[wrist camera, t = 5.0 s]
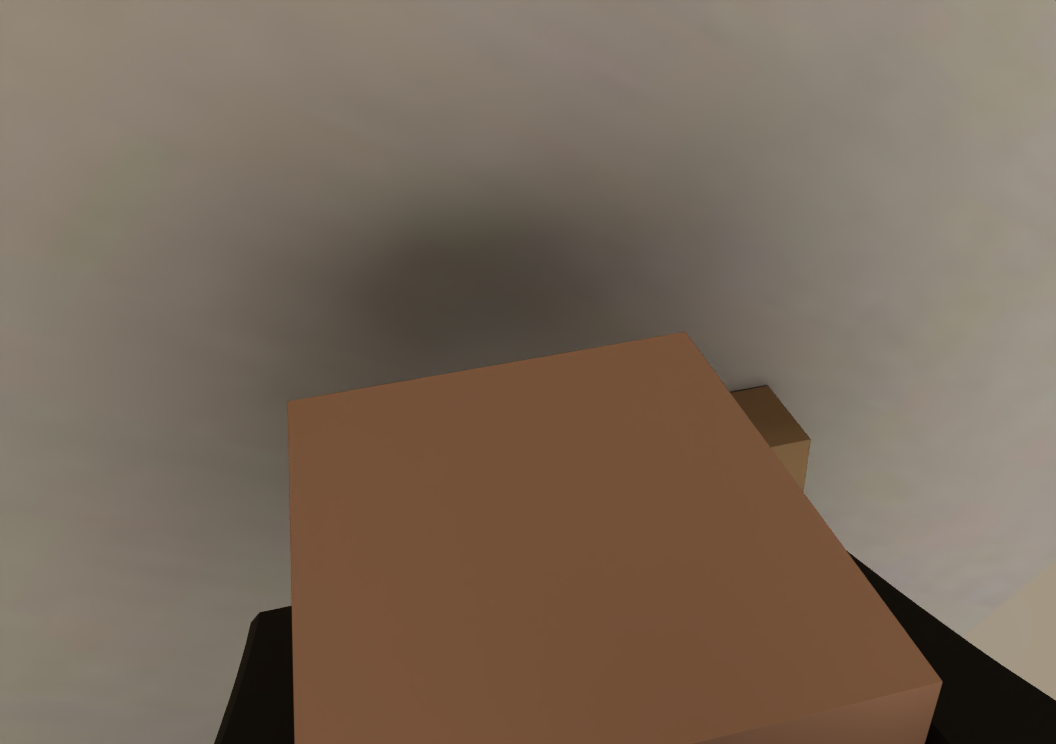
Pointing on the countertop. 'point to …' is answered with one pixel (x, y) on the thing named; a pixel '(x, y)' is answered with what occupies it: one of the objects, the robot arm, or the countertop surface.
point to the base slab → (777, 429)
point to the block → (577, 568)
